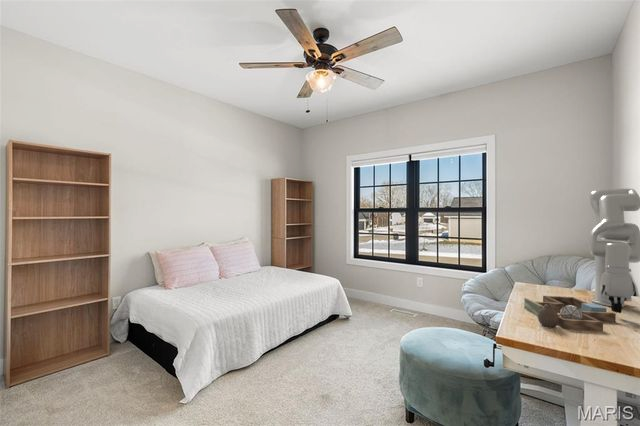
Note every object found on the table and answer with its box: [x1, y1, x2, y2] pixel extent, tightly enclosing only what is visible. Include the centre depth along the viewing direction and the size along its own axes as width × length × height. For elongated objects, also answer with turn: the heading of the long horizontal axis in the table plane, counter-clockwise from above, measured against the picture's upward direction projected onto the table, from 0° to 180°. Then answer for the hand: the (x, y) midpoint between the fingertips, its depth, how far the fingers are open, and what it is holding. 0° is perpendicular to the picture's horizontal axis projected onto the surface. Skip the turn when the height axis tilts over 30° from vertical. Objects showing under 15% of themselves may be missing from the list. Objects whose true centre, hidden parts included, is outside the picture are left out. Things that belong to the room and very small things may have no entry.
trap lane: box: [523, 295, 617, 332], centre depth 136 cm, size 30×38×5 cm
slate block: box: [581, 302, 608, 312], centre depth 134 cm, size 6×6×5 cm
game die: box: [558, 303, 584, 320], centre depth 125 cm, size 9×8×10 cm
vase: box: [537, 304, 559, 329], centre depth 122 cm, size 7×7×9 cm
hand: (616, 311), depth 132 cm, fingers closed
